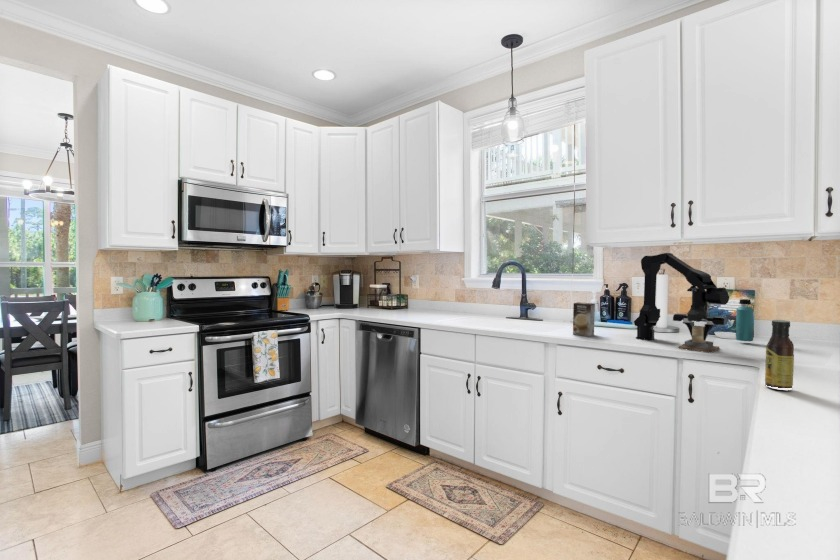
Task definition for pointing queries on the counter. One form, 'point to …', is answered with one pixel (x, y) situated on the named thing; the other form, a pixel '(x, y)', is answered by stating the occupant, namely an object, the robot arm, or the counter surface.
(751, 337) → the beverage bottle
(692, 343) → the socket holder
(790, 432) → the counter surface
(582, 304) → the coffee box
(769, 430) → the counter surface
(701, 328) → the maple peg
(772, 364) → the sauce bottle
